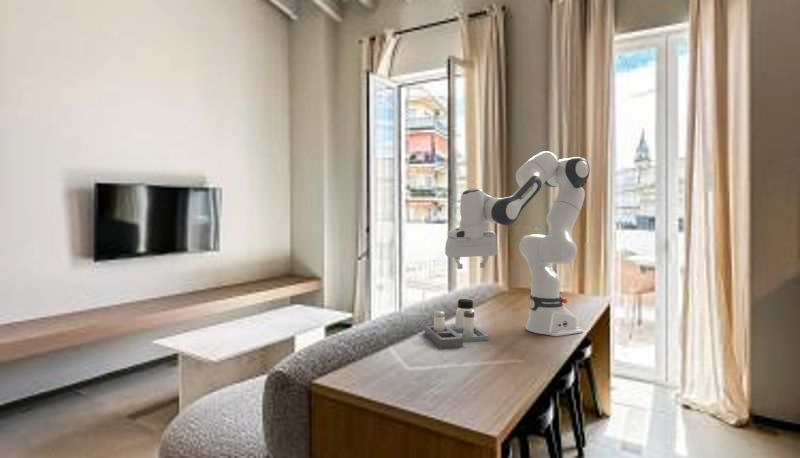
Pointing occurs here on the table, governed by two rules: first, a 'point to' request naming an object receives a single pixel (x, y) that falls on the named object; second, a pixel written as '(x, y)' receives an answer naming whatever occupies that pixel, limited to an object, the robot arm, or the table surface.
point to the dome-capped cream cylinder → (439, 320)
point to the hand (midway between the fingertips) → (471, 268)
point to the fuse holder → (443, 338)
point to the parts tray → (471, 338)
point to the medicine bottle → (463, 306)
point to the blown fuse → (468, 324)
